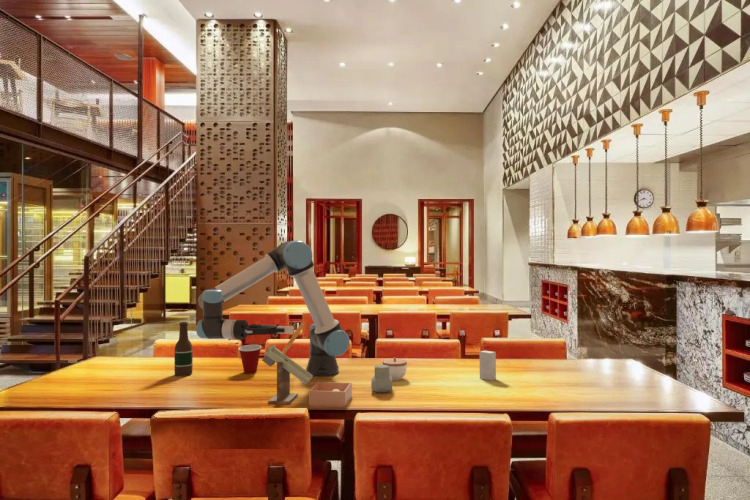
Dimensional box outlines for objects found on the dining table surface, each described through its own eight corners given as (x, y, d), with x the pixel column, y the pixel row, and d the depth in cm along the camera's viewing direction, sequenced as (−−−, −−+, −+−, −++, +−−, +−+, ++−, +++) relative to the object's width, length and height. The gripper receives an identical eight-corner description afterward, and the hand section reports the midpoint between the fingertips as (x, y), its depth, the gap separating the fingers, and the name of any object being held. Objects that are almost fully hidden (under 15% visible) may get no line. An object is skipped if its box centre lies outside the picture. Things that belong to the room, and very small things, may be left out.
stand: (268, 403, 188) (268, 362, 188) (277, 395, 198) (277, 356, 199) (289, 404, 186) (289, 363, 187) (297, 396, 197) (297, 357, 198)
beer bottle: (196, 373, 236) (196, 321, 236) (184, 377, 228) (184, 323, 229) (182, 372, 238) (182, 320, 239) (170, 375, 231) (170, 323, 231)
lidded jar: (405, 382, 218) (404, 360, 218) (380, 381, 221) (380, 359, 221) (408, 376, 229) (408, 355, 229) (385, 375, 231) (385, 354, 231)
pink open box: (308, 406, 184) (308, 390, 184) (317, 395, 198) (317, 381, 198) (345, 407, 182) (345, 392, 182) (351, 397, 196) (351, 382, 196)
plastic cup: (233, 373, 235) (233, 347, 235) (247, 368, 245) (247, 343, 245) (252, 375, 231) (252, 349, 231) (266, 370, 241) (266, 345, 241)
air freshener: (372, 387, 210) (372, 363, 210) (392, 387, 210) (392, 363, 210) (371, 394, 199) (371, 369, 199) (392, 394, 199) (392, 369, 199)
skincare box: (496, 379, 224) (496, 351, 224) (491, 380, 221) (491, 353, 221) (484, 376, 228) (484, 350, 228) (479, 378, 225) (479, 351, 225)
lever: (259, 360, 190) (286, 320, 189) (268, 355, 200) (294, 316, 199) (300, 391, 188) (328, 351, 186) (308, 384, 198) (334, 346, 197)
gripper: (242, 336, 208) (298, 336, 204) (229, 341, 195) (288, 342, 191) (242, 317, 208) (298, 318, 204) (228, 322, 195) (288, 322, 191)
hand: (293, 330), depth 198 cm, fingers closed
